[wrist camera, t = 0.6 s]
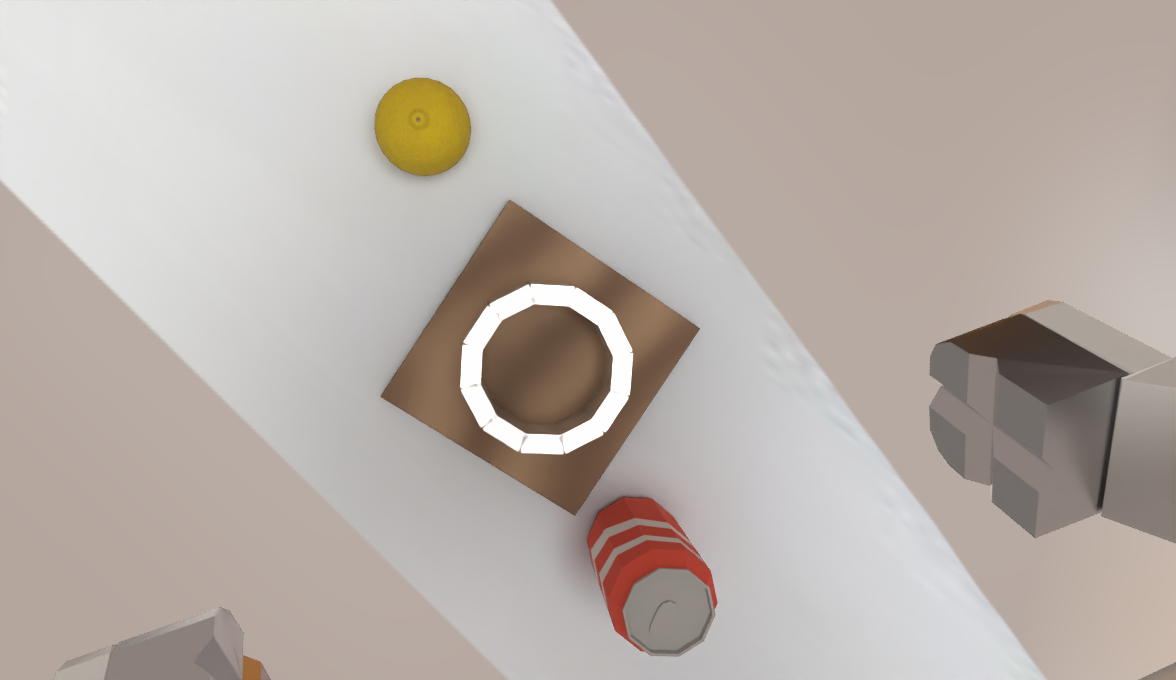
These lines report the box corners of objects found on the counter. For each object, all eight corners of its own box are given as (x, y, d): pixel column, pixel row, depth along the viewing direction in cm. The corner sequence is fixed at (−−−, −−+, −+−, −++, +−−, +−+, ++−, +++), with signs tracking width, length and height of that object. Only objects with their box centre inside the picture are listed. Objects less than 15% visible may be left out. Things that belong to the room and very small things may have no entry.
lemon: (371, 101, 54) (353, 79, 46) (458, 81, 55) (455, 55, 47) (396, 189, 55) (382, 181, 47) (481, 168, 55) (481, 157, 47)
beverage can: (572, 564, 59) (596, 646, 47) (609, 480, 59) (643, 542, 47) (652, 594, 60) (695, 682, 48) (689, 511, 60) (741, 579, 48)
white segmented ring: (652, 338, 57) (663, 345, 54) (565, 469, 57) (570, 484, 54) (520, 250, 55) (522, 251, 52) (431, 385, 56) (427, 396, 52)
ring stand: (696, 326, 58) (700, 328, 57) (573, 510, 59) (574, 515, 58) (509, 200, 56) (509, 199, 55) (382, 393, 56) (380, 396, 55)
